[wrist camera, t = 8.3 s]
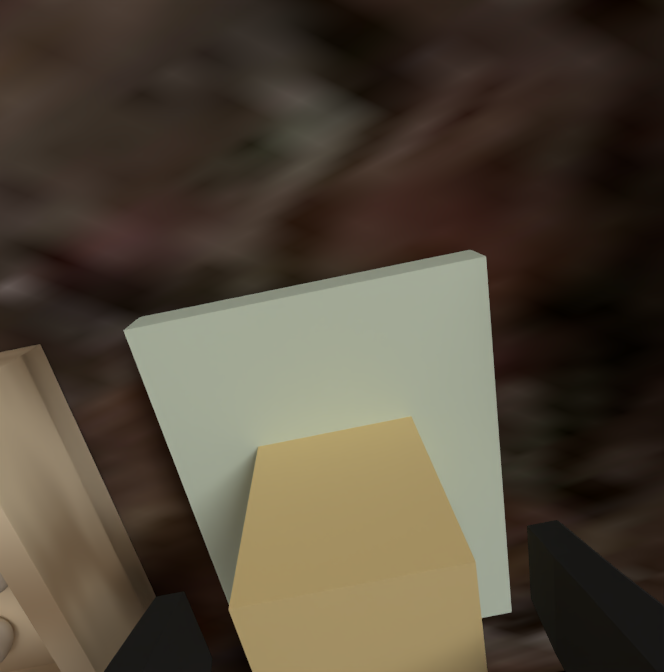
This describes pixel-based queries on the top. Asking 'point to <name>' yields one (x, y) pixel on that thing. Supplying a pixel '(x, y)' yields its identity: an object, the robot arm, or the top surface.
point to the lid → (343, 463)
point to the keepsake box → (58, 534)
